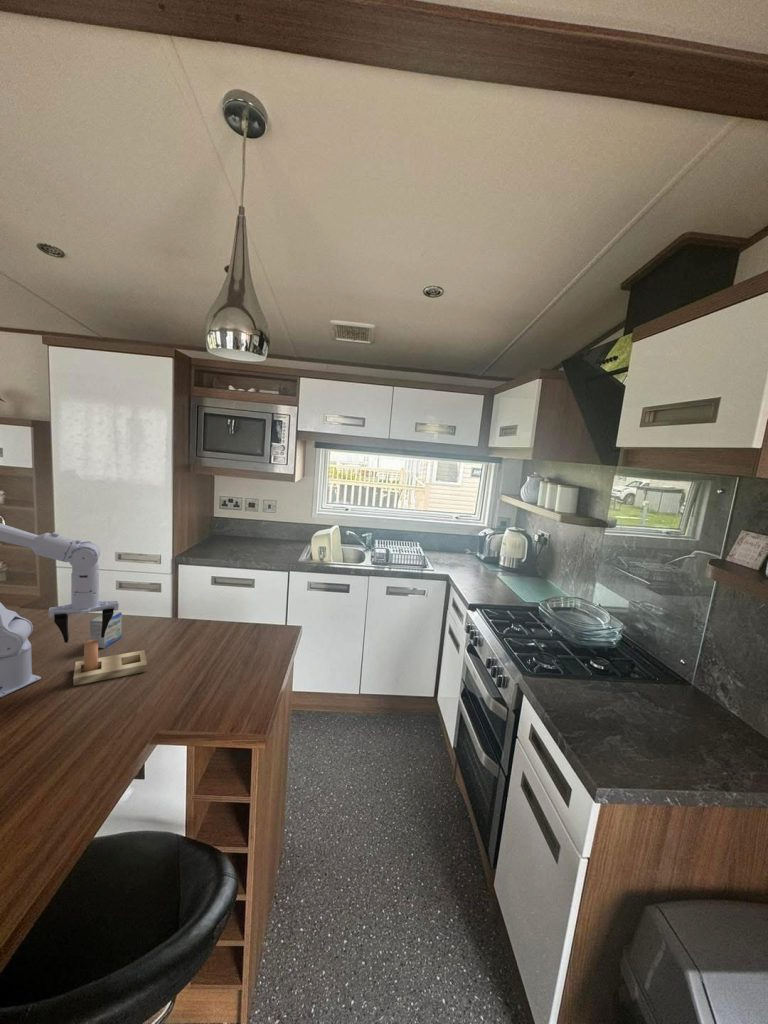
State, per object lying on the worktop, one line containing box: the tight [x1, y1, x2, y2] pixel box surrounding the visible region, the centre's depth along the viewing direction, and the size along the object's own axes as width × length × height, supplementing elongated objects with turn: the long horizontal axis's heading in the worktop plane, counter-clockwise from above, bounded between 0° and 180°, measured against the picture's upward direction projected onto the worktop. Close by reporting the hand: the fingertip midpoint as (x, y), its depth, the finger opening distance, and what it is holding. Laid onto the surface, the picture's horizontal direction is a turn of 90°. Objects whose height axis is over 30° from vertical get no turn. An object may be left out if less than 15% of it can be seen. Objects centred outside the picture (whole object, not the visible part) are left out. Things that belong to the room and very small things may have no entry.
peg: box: [83, 639, 99, 672], centre depth 105 cm, size 3×3×9 cm
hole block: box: [73, 649, 148, 686], centre depth 108 cm, size 16×9×2 cm, turn 125°
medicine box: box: [89, 610, 123, 649], centre depth 122 cm, size 8×4×9 cm, turn 179°
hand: (85, 638), depth 105 cm, fingers open, 7 cm apart
